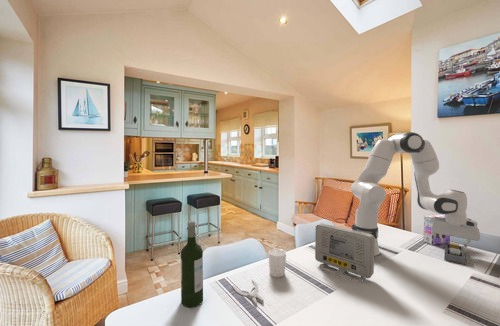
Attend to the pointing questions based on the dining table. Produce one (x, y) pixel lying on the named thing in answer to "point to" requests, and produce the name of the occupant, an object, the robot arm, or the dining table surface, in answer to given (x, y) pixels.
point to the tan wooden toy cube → (454, 245)
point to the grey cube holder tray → (455, 258)
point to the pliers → (253, 296)
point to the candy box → (433, 237)
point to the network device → (345, 251)
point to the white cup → (277, 262)
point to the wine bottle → (191, 270)
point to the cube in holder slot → (455, 251)
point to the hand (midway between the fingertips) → (453, 244)
